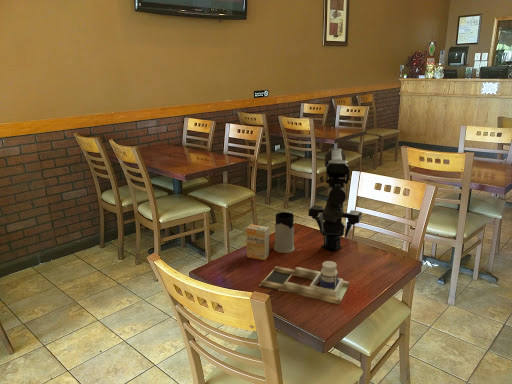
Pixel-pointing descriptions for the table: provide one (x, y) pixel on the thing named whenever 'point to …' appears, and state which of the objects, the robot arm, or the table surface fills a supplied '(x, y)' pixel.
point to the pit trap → (277, 278)
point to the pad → (342, 292)
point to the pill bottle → (329, 275)
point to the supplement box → (257, 242)
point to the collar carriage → (325, 290)
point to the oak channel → (301, 288)
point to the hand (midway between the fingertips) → (333, 235)
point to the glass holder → (284, 232)
